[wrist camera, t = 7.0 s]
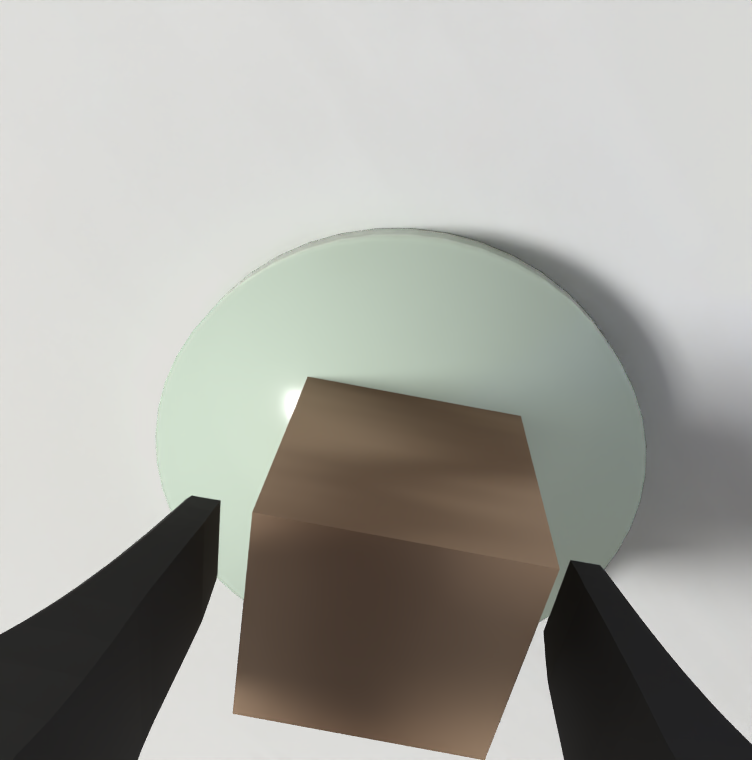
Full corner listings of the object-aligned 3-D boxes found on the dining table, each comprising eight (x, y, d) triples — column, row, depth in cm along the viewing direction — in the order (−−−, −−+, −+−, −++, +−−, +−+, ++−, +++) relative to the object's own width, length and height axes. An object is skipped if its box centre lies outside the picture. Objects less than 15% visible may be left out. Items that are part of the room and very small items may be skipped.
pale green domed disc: (710, 284, 14) (733, 301, 13) (551, 652, 19) (558, 687, 18) (181, 181, 14) (159, 190, 13) (167, 580, 19) (152, 609, 18)
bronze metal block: (520, 415, 15) (559, 569, 10) (470, 576, 17) (484, 760, 12) (307, 376, 15) (252, 512, 10) (286, 542, 17) (232, 713, 12)
